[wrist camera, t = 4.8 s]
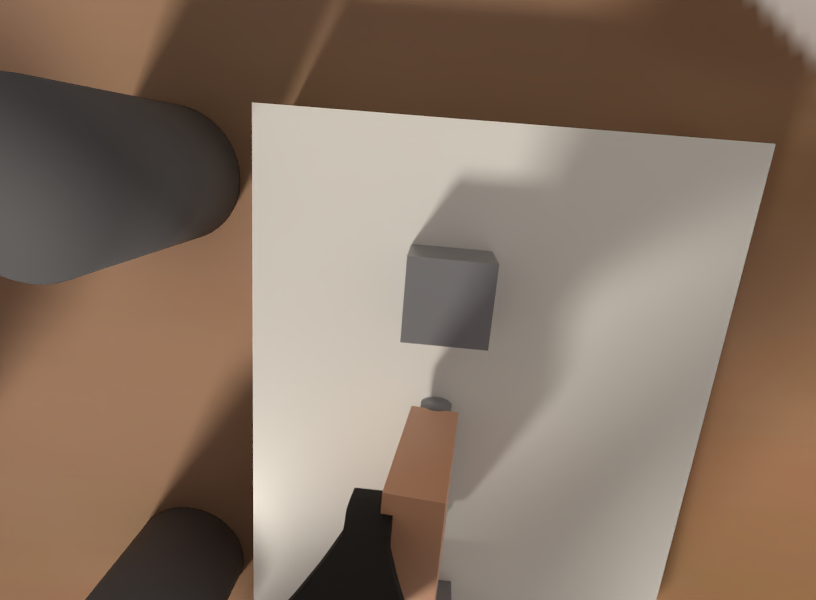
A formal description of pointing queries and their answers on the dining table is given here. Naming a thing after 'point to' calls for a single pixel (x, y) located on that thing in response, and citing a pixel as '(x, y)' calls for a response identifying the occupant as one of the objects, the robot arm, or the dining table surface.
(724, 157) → the panel
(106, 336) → the dining table surface
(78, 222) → the post
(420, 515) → the tan rectangular block
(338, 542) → the robot arm
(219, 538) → the post
